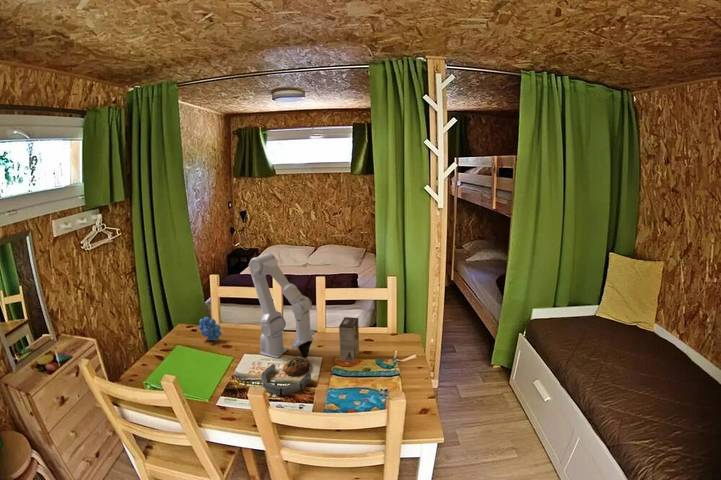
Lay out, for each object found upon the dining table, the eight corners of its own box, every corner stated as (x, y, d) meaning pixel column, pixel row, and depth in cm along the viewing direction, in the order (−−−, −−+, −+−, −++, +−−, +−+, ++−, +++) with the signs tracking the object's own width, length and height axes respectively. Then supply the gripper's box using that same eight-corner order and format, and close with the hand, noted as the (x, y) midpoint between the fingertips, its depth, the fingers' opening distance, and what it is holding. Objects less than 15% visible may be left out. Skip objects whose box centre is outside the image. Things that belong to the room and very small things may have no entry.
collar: (252, 387, 129) (251, 381, 129) (272, 369, 140) (272, 364, 140) (293, 399, 123) (293, 392, 122) (311, 379, 134) (310, 373, 133)
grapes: (194, 343, 162) (191, 320, 160) (203, 336, 169) (201, 313, 166) (216, 346, 160) (213, 322, 157) (225, 339, 166) (222, 315, 163)
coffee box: (345, 349, 155) (344, 316, 151) (359, 351, 153) (358, 317, 150) (339, 361, 146) (338, 325, 143) (354, 362, 145) (354, 327, 141)
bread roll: (307, 377, 135) (304, 365, 134) (279, 379, 136) (277, 367, 136) (314, 362, 146) (312, 351, 145) (288, 364, 147) (286, 353, 147)
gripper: (302, 336, 135) (304, 368, 138) (320, 321, 148) (321, 350, 151) (286, 333, 138) (288, 364, 140) (305, 318, 151) (307, 347, 154)
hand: (304, 357), depth 146 cm, fingers closed
